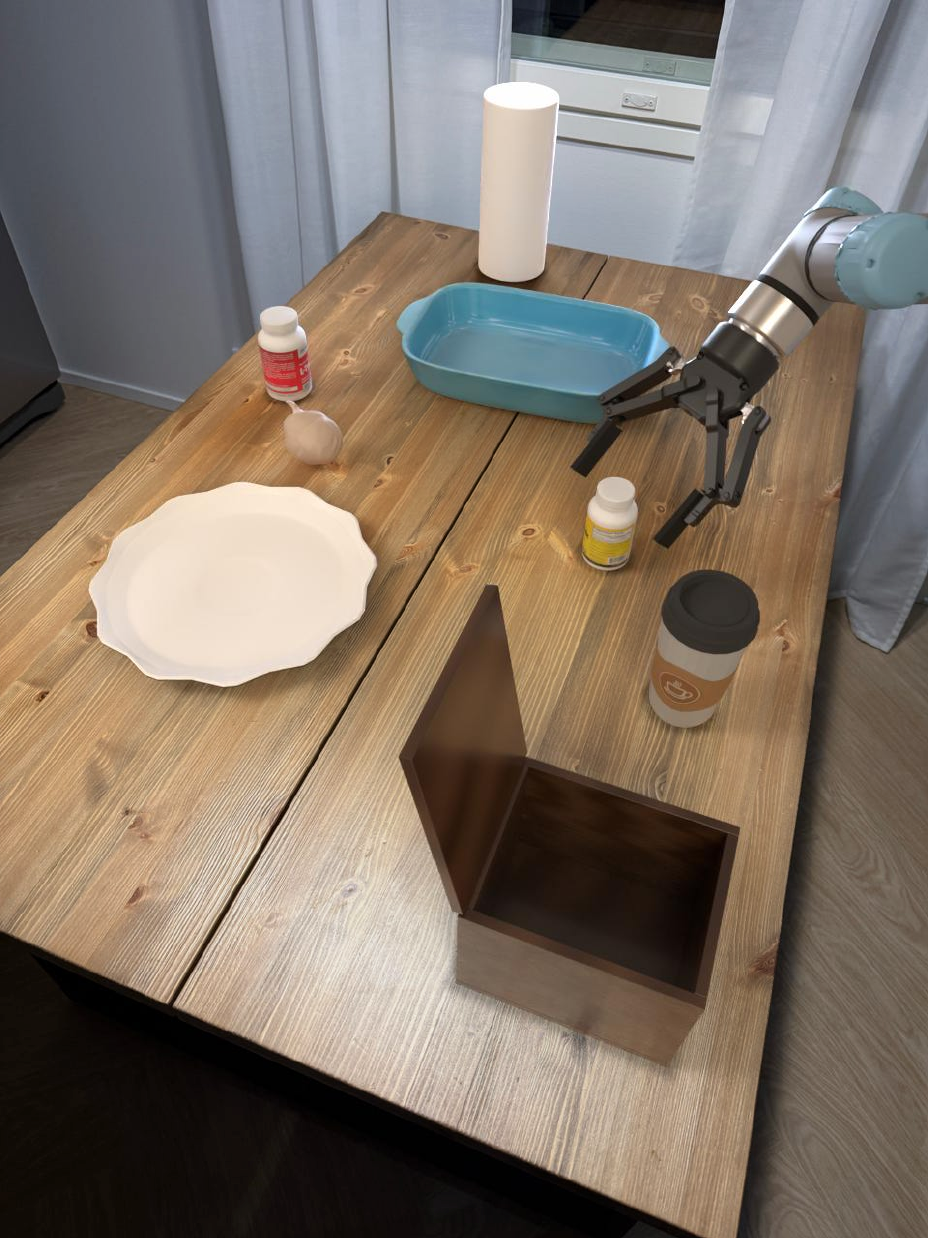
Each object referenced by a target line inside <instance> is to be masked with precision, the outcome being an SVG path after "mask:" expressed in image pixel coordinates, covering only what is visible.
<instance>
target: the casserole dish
mask: <svg viewBox="0 0 928 1238" xmlns="http://www.w3.org/2000/svg"><path fill="white" fill-rule="evenodd" d="M396 328H397V331H398V332H399V333H400V334H401V335H402V337H401V349H402V352H403V354H404V357H405V358H406V361H407V363H408V365H409V368H410V370H411V372H412V374H413V376H414V377H415V379H416V380H417V381H418V382H419V383H420V385H422V386H423V387H424V388H425V389H427V390H429V391H430V392H432V393H434V394H437V395H440V396H443V397H445V398H448V399H453V400H458V401H461V402H466V403H469V404H475V405H479V406H485V407H488V408H495V409H499V410H504V411H513V412H517V413H520V414H521V413H522V414H525V415H526V414H527V415H532V416H537V417H542V418H543V417H544V418H548V419H553V420H554V419H555V420H560V421H565V422H572V423H578V424H579V423H580V424H593V425H594V424H595V425H596V424H597V423H598V422H599V421H600V419H601V418H602V417H603V413H604V412H603V409H602V407H601V405H600V404H599V403H598V401H597V398H598V396H599V395H600V394H602V393H603V392H605V391H607V390H608V389H610V388H612V387H613V386H615V385H617V384H618V383H620V382H622V381H623V380H625V379H627V378H628V377H630V376H632V375H633V374H635V373H637V372H638V371H640V370H642V369H643V368H645V367H647V366H648V365H650V364H652V363H653V362H655V361H656V360H657V359H658V358H659V357H660V356H661V355H662V354H663V353H664V352H665V351H666V350H667V349H668V348H669V347H671V345H670V343H668V341H667V340H666V339H665V338H663V336H662V333H661V328H660V327H659V324H658V323H657V322H656V321H655V320H654V319H653V318H652V317H650V316H648V315H647V314H645V313H642V312H640V311H637V310H634V309H631V308H627V307H622V306H619V305H613V304H609V303H604V302H599V301H592V300H587V299H581V298H575V297H570V296H569V297H568V296H563V295H557V294H552V293H546V292H540V291H535V290H529V289H523V288H519V287H514V286H513V287H512V286H507V285H506V286H505V285H498V284H493V283H483V282H455V283H452V284H448V285H444V286H442V287H440V288H438V289H437V290H436V291H434V292H433V293H431V294H430V295H428V296H426V297H423V298H420V299H418V300H416V301H413V302H412V303H410V304H409V305H408V306H406V307H405V309H404V310H403V311H402V312H401V314H400V315H399V317H398V319H397V322H396Z"/></svg>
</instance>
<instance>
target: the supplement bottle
mask: <svg viewBox="0 0 928 1238" xmlns="http://www.w3.org/2000/svg"><path fill="white" fill-rule="evenodd" d="M595 492H596V493H595V495H594V496H593V497H592V498H591V499H590V500H589V502H588V504H587V510H586V516H585V522H584V523H585V524H584V531H583V537H582V545H581V555H582V558H583V560H584V561H585V562H586V564H588V565H589V566H590V567H592V568H594V569H596V570H600V571H609V572H610V571H615V570H618V569H621V568H623V567H624V566H625V565H626V564H627V563H628V561H629V559H630V557H631V550H632V546H633V542H634V541H633V540H634V536H635V532H636V531H635V530H636V525H637V522H638V521H637V520H638V515H639V508H638V505H637V503H636V501H635V497H636V487H635V486H634V484H633V483H632V482H631V481H630V480H628V479H626V478H624V477H621V476H609V477H605V478H603V479H602V480H600V481H599V482H598V484H597V487H596V491H595Z"/></svg>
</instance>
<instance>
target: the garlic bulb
mask: <svg viewBox="0 0 928 1238" xmlns="http://www.w3.org/2000/svg"><path fill="white" fill-rule="evenodd" d="M286 404H287V405H288V406H289V407H290V408H291V409H292V413H290V414H289V415H287V417H286V418H285V420H284V422H283V426H282V427H283V429H284V447H285V449H286V451H287V452H288V453H289V454H290V455H291V456H292V457H293V458H295V459H296V460H298V461H300V462H302V463H303V464H305V465H308V466H309V465H310V466H317V465H321V466H322V465H323V466H324V465H327V464H329V463H332V462H334V460H336V459H337V457H338V456H339V454H340V452H341V450H342V447H343V441H344V437H343V433H342V431H341V430H342V429H340V427H339V425H337V423H336V422H335V421H334V420H333V419H331V418H330V417H327V415H325V414H324V413H323V412H321V411H319V410H313V409H311V410H303V409H301V407H299V406H298V405H297V403H296V402H295V401H290V400H287V401H286Z"/></svg>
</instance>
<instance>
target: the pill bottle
mask: <svg viewBox="0 0 928 1238" xmlns="http://www.w3.org/2000/svg"><path fill="white" fill-rule="evenodd" d="M259 322H260V327H261V329H260V330H259V332H258V335H257V343H258V350H259V354H260V360H261V366H262V372H263V377H264V382H265V388H266V392H267V394H268V395H269V396H270V397H271V398H272V399H274V400H277V401H280V402H288V401H287V400H290V401H293V402H295V401H299V400H302V399H304V398H306V397H307V396H308V395H309V394H310V393H311V391H312V389H313V379H312V372H311V371H312V370H311V365H310V364H311V363H310V357H309V348H308V343H307V335H306V332H305V330H304V329H303V327H301V325H299V317H298V313H297V311H296V310H295V309H293V308H292V307H290V306H283V305H277V306H271V307H268V308H265V309H264V310H263V311H261V313H260V315H259Z"/></svg>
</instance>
